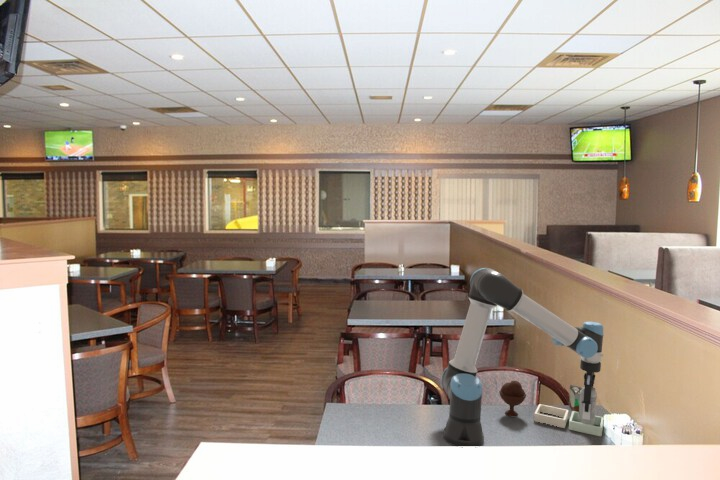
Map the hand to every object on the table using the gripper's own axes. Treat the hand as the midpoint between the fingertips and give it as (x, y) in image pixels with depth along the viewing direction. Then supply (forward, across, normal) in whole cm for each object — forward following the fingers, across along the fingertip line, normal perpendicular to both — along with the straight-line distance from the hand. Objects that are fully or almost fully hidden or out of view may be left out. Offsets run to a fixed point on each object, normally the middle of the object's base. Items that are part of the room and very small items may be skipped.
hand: (586, 416), depth 208 cm
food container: (+5, +16, +4) cm, 17 cm away
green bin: (+5, 0, 0) cm, 5 cm away
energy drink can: (+4, 0, 0) cm, 4 cm away
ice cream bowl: (+5, -4, +29) cm, 30 cm away
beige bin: (+5, 0, +13) cm, 14 cm away
